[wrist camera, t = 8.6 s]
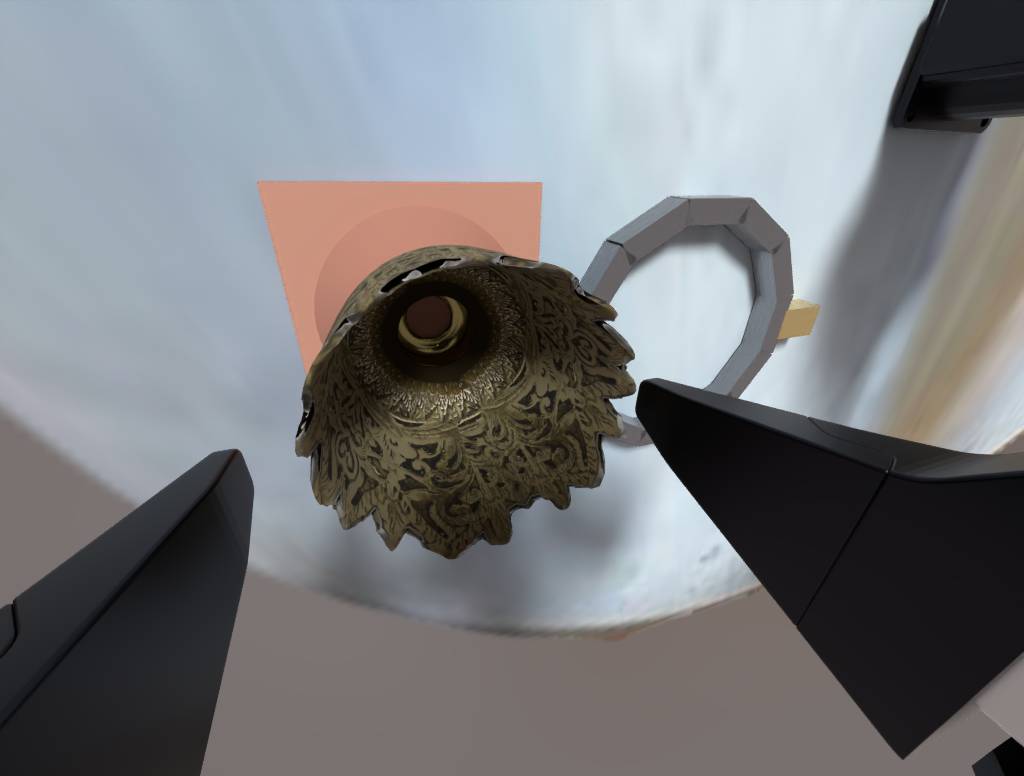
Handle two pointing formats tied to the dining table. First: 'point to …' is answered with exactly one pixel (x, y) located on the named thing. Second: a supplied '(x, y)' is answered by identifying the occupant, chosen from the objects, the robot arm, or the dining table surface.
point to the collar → (771, 273)
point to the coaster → (385, 239)
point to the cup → (462, 397)
